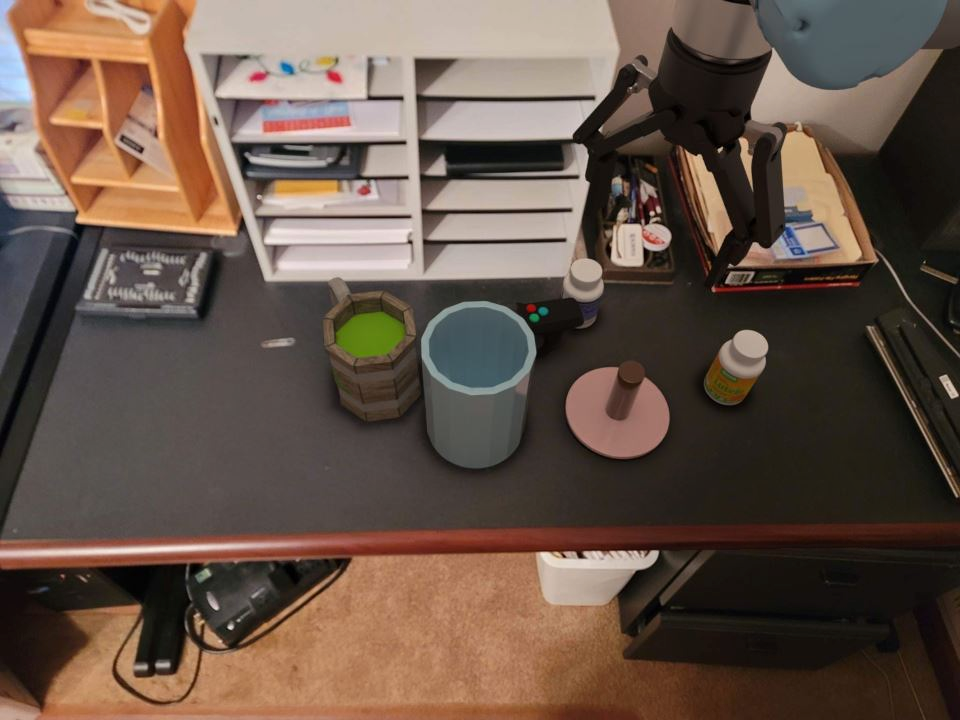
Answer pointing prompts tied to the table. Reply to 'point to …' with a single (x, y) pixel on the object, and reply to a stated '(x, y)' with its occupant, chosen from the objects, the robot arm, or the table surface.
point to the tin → (477, 382)
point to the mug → (372, 352)
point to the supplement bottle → (736, 367)
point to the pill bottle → (584, 288)
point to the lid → (617, 411)
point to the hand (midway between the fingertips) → (652, 243)
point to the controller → (548, 319)
